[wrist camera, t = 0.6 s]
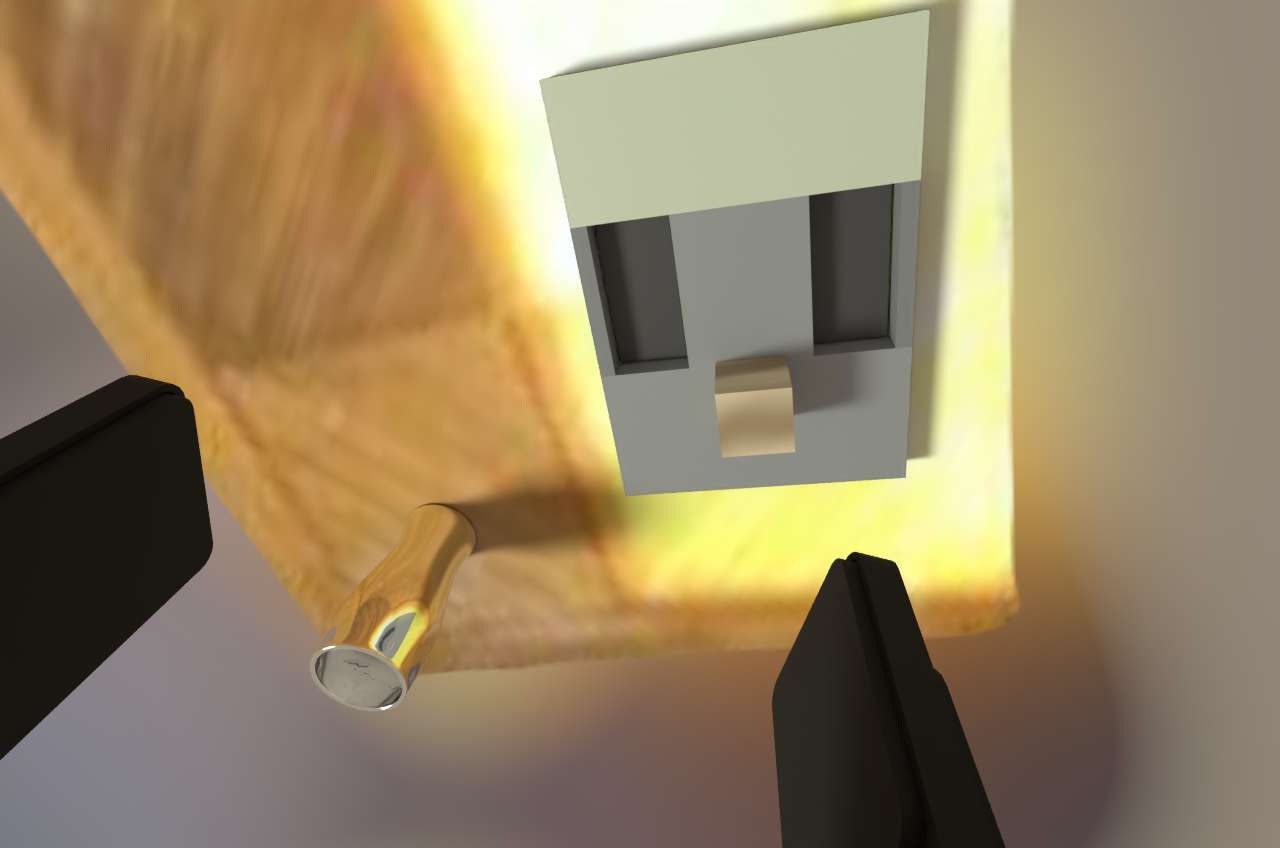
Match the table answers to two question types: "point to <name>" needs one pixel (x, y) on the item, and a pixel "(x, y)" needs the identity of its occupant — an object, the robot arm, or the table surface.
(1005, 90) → the table surface
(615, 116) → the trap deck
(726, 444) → the maple cube
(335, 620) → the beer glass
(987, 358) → the table surface
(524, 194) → the table surface
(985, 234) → the table surface
